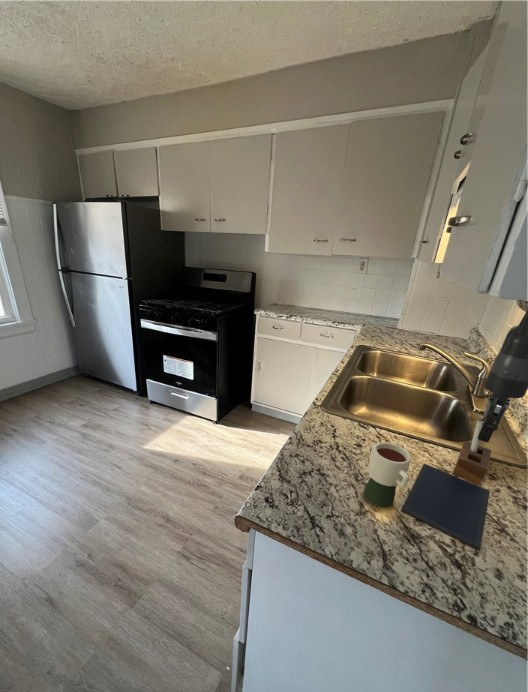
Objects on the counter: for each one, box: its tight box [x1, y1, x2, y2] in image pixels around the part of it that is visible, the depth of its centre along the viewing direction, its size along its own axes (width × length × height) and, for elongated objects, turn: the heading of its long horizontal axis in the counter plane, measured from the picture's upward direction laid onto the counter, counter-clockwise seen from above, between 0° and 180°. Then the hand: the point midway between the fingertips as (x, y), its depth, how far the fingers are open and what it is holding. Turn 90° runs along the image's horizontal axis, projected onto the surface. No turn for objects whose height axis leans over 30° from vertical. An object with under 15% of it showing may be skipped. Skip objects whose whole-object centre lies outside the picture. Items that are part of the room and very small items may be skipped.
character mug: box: [363, 441, 412, 508], centre depth 67 cm, size 11×7×13 cm, turn 14°
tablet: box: [400, 463, 491, 551], centre depth 70 cm, size 20×14×1 cm
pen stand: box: [451, 440, 492, 486], centre depth 79 cm, size 10×6×5 cm, turn 140°
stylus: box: [470, 419, 483, 453], centre depth 79 cm, size 1×1×13 cm
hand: (484, 433), depth 77 cm, fingers open, 8 cm apart
